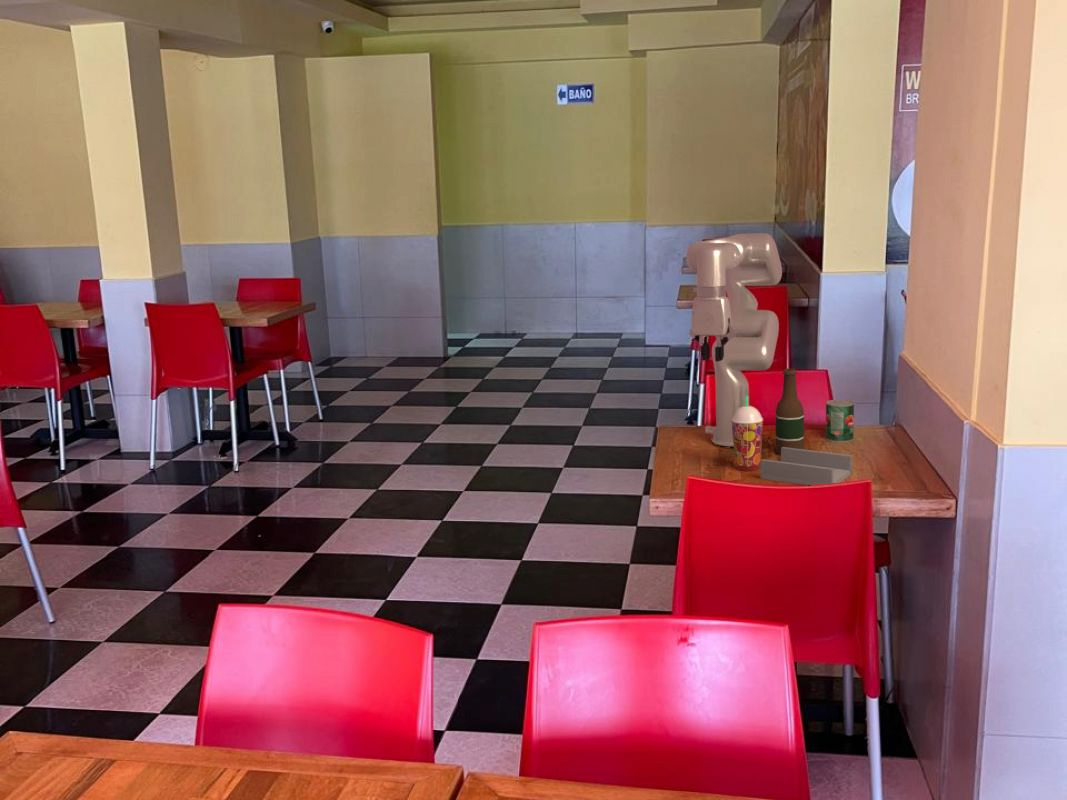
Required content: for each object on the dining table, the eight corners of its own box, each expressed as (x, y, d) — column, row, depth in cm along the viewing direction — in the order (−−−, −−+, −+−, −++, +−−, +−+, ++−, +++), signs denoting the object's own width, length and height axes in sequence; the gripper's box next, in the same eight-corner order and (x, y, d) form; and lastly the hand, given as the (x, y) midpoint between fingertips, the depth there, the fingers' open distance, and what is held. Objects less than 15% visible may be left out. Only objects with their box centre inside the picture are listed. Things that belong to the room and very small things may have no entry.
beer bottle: (805, 449, 288) (805, 366, 282) (802, 457, 280) (803, 372, 275) (777, 448, 290) (776, 366, 285) (774, 455, 283) (773, 372, 278)
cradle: (760, 478, 263) (760, 460, 262) (782, 464, 274) (782, 446, 273) (831, 488, 252) (831, 469, 251) (851, 473, 263) (852, 455, 262)
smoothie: (729, 464, 277) (728, 393, 273) (760, 463, 277) (759, 392, 273) (734, 473, 269) (733, 400, 265) (766, 471, 269) (765, 398, 264)
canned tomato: (857, 441, 293) (857, 404, 290) (829, 443, 293) (830, 406, 290) (848, 434, 300) (849, 398, 298) (822, 436, 301) (822, 400, 298)
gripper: (677, 293, 271) (678, 360, 275) (733, 295, 261) (734, 364, 265) (690, 290, 276) (691, 356, 280) (746, 291, 267) (746, 359, 271)
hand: (712, 359), depth 273 cm, fingers open, 3 cm apart
